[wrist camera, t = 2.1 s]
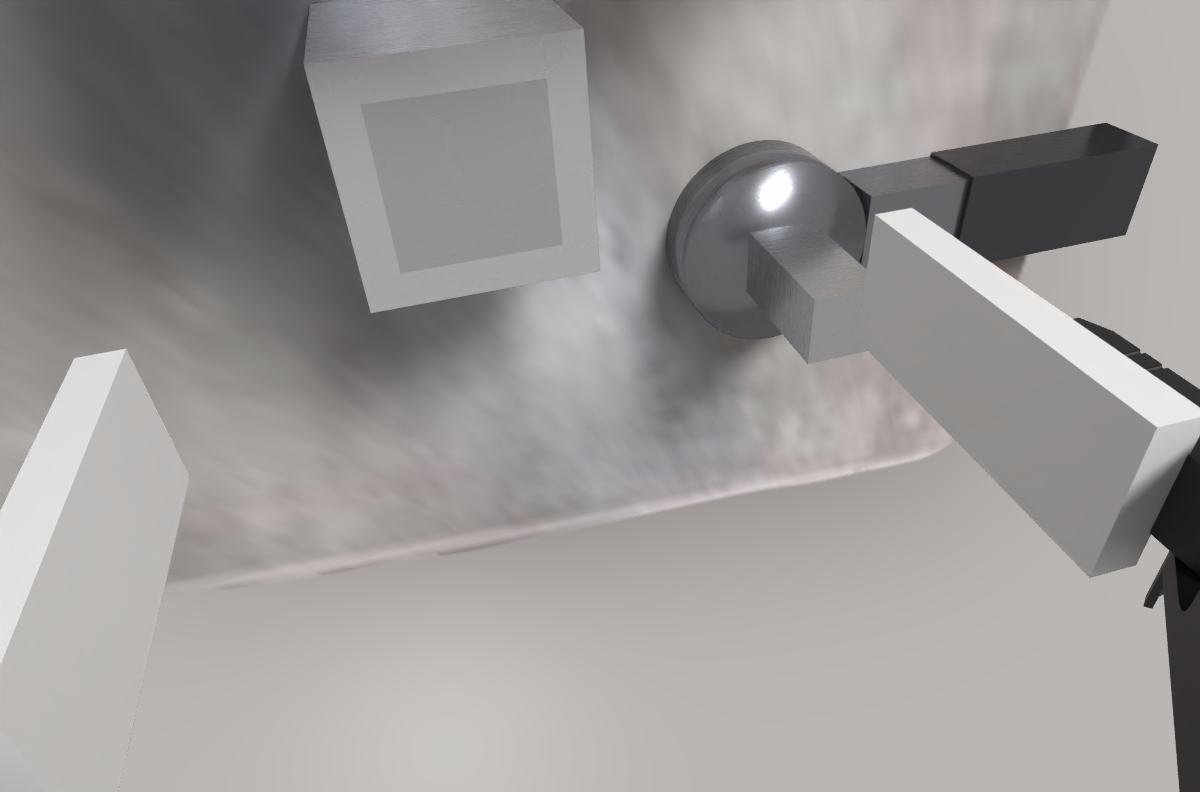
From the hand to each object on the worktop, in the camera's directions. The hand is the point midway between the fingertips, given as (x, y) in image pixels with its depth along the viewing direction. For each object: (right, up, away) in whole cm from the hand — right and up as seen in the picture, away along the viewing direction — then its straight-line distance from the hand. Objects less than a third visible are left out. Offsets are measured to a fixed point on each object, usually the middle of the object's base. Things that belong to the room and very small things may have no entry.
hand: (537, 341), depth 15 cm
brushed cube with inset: (-4, +8, +11) cm, 15 cm away
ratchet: (+13, +7, +18) cm, 23 cm away
